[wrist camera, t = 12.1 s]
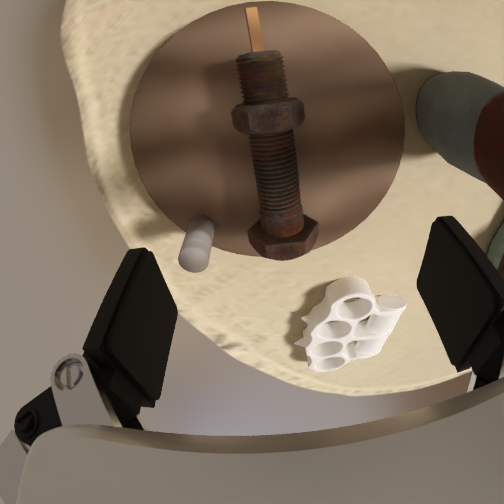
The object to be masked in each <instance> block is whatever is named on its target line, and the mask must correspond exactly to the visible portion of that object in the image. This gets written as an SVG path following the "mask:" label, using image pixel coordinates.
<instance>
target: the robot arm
mask: <svg viewBox="0 0 504 504" xmlns="http://www.w3.org/2000/svg"><path fill="white" fill-rule="evenodd" d="M417 289H418V291H419V293H420V295H421V297H422V299H423V301H424V303H425V305H426V307H427V309H428V312H429V314H430V316H431V318H432V320H433V322H434V324H435V327H436V329H437V331H438V333H439V336H440V338H441V340H442V343H443V345H444V347H445V350H446V352H447V355H448V357H449V360H450V362H451V364H452V365H455V367H456V370H457V372H461V371H464V370H466V369H469V368H470V367H472V370H473V374H472V377H471V381H470V384H469V388H468V391H467V393H465V394H463V395H460V396H457V397H455V398H452V399H449V400H446V401H444V402H441V403H438V404H435V405H432V406H428V407H425V408H422V409H419V410H415V411H412V412H409V413H405V414H401V415H397V416H394V417H389V418H385V419H381V420H376V421H372V422H367V423H362V424H357V425H352V426H346V427H340V428H334V429H327V430H320V431H312V432H302V433H292V434H280V435H261V436H205V435H187V434H174V433H163V432H152V431H149V429H148V428H147V426H146V425H145V423H144V421H143V420H142V418H141V416H140V414H139V413H140V408H141V406H142V407H151V408H154V407H155V401H156V400H158V399H159V398H160V395H161V391H162V386H163V381H164V376H165V370H166V366H167V361H168V356H169V351H170V346H171V342H172V338H173V333H174V329H175V324H176V320H177V315H178V311H177V306H176V304H175V302H174V300H173V298H172V295H171V293H170V291H169V289H168V287H167V284H166V282H165V280H164V278H163V275H162V273H161V271H160V268H159V266H158V264H157V261H156V259H155V257H154V254H153V253H152V252H151V251H148V250H147V249H146V248H136V249H130V250H129V251H128V252H127V253H126V255H125V257H124V259H123V261H122V263H121V265H120V267H119V269H118V271H117V273H116V275H115V277H114V279H113V281H112V283H111V285H110V287H109V289H108V291H107V293H106V295H105V297H104V299H103V302H102V304H101V306H100V308H99V310H98V313H97V315H96V317H95V319H94V322H93V324H92V326H91V329H90V331H89V334H88V336H87V338H86V341H85V343H84V346H83V348H82V349H83V350H84V354H83V356H81V355H79V354H69V355H67V356H64V357H63V358H62V359H60V360H59V361H58V362H57V364H56V365H55V366H54V368H53V371H52V373H51V378H50V379H51V387H49V388H48V389H47V390H45V391H44V392H42V393H41V394H40V395H38V396H37V397H36V398H34V399H33V400H31V401H30V402H29V403H27V404H26V405H25V406H23V407H22V408H21V409H20V410H19V412H18V413H17V416H16V418H15V425H14V427H15V431H13V430H11V432H10V433H9V434H8V436H7V437H6V438H5V440H4V441H3V442H2V444H1V445H0V496H1V498H2V500H3V501H4V503H5V504H504V279H503V278H502V276H501V275H500V273H499V272H498V271H497V269H496V268H495V266H494V265H493V264H492V262H491V261H490V260H489V259H488V257H487V256H486V255H485V253H484V252H483V251H482V250H481V248H480V247H479V246H478V245H477V243H476V242H475V241H474V240H473V238H472V237H471V236H470V235H469V234H468V232H467V231H466V230H465V229H464V228H463V227H462V226H461V224H460V223H459V222H458V221H457V220H456V219H455V218H454V217H453V216H442V217H437V219H436V220H435V221H434V222H433V223H432V226H431V230H430V234H429V239H428V243H427V246H426V250H425V254H424V258H423V261H422V265H421V268H420V272H419V275H418V278H417Z"/></svg>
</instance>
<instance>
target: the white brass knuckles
mask: <svg viewBox="0 0 504 504" xmlns="http://www.w3.org/2000/svg"><path fill="white" fill-rule="evenodd" d="M325 289H326V293H325V296H324V298H323V300H322V301H321V302H320V303H319V304H318V305H316V306H314V307H313V308H312V309H311V311H310V312H309V314H308V315H306V316H303V317H300V318H301V319H302V320H303V321H304V322H306V323H307V324H308V326H307V327H306V329H305V330H304V331H303V337H302V338H301V339H300V340H298V341H297V342H295V343H294V344H295V345H298V346H301V347H304V348H305V351H306V355H307V362H308V367H309V368H310V369H311V370H313V371H316V372H329V371H333V370H336V369H338V368H340V367H342V366H343V365H345V364H346V363H347V362H350V361H352V360H355V359H365V358H369V357H373V356H375V355H376V354H377V353H379V352H380V351H381V347H382V346H383V344H384V342H385V341H386V339H387V337H388V336H389V334H390V333H391V332H392V331H393V327H394V326H395V324H396V322H397V321H398V319H399V317H400V315H401V313H402V312H403V310H404V309H405V308H406V307H407V301H406V299H405V298H404V297H402V296H399V295H396V294H393V295H382V296H374V295H372V293H371V291H370V288H369V286H368V284H367V282H366V281H365V280H363V279H362V278H359V277H354V276H349V277H343V278H340V279H338V280H335V281H334V282H332V283H331V284H329V285H328V286H327V287H326V288H325ZM354 297H359V299H358V300H356V301H353V302H348V303H346V302H343V301H345V300H347V299H349V298H354ZM369 315H370V317H369V319H368V321H361V320H363V319H365V318H367V317H368V316H369ZM336 320H337V321H336ZM329 321H336V322H331V323H328V322H329ZM351 341H353V342H351ZM349 342H351V343H349Z"/></svg>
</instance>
